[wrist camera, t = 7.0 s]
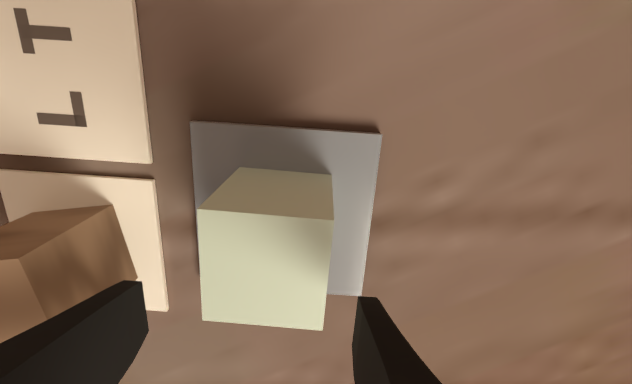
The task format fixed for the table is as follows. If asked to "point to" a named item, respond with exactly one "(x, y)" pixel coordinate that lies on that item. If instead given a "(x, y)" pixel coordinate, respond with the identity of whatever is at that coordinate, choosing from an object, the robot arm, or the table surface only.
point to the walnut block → (58, 263)
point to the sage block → (266, 248)
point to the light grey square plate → (300, 156)
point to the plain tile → (91, 190)
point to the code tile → (72, 81)
